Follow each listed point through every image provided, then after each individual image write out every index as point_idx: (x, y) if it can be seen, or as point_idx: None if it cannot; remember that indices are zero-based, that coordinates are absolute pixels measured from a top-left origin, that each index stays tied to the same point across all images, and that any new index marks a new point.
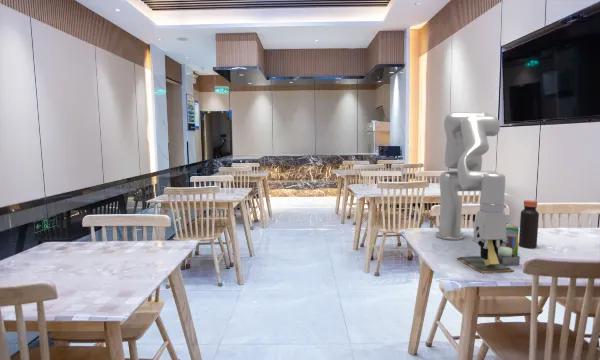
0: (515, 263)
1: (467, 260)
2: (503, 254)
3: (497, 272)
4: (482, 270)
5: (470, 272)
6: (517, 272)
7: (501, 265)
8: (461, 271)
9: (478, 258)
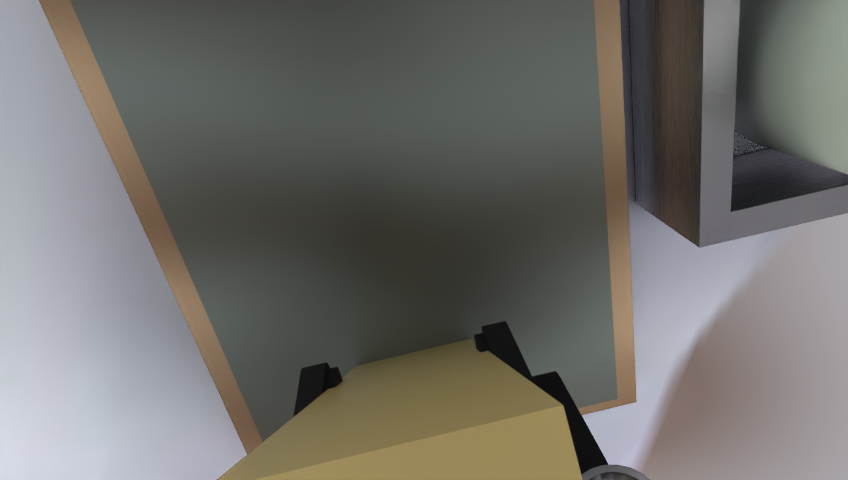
0: None
1: (159, 148)
2: (802, 150)
3: None
4: None
5: (140, 457)
6: (656, 395)
7: (575, 321)
8: (35, 443)
9: (394, 12)
